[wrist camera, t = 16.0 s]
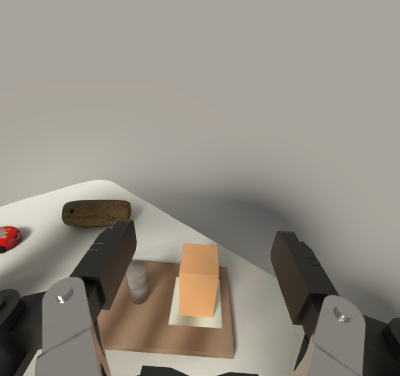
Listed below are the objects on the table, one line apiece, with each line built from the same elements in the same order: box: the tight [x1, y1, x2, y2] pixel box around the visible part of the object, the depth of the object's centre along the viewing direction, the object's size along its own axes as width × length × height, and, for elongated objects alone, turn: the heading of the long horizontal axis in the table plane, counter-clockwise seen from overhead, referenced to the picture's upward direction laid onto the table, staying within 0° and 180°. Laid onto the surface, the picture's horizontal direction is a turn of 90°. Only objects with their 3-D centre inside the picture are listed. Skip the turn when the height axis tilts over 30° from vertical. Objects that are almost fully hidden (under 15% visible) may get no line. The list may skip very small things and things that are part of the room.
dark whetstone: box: [62, 200, 131, 227], centre depth 49 cm, size 15×7×7 cm, turn 103°
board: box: [97, 260, 234, 359], centre depth 31 cm, size 22×14×8 cm, turn 87°
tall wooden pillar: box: [179, 244, 219, 318], centre depth 30 cm, size 5×5×10 cm
